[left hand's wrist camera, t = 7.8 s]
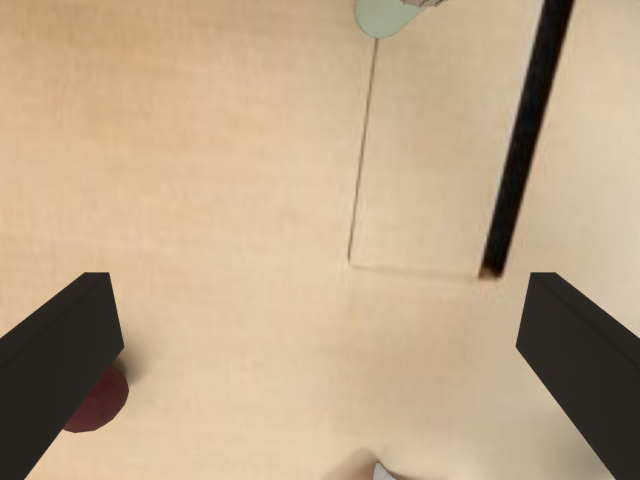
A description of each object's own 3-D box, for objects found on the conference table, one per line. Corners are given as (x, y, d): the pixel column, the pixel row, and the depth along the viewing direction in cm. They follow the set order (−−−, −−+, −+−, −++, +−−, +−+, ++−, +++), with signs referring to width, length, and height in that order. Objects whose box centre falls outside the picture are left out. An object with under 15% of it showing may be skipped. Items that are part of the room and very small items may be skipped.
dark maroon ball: (67, 342, 44) (21, 386, 37) (138, 350, 44) (106, 395, 38) (72, 395, 46) (30, 445, 40) (140, 403, 47) (109, 454, 40)
